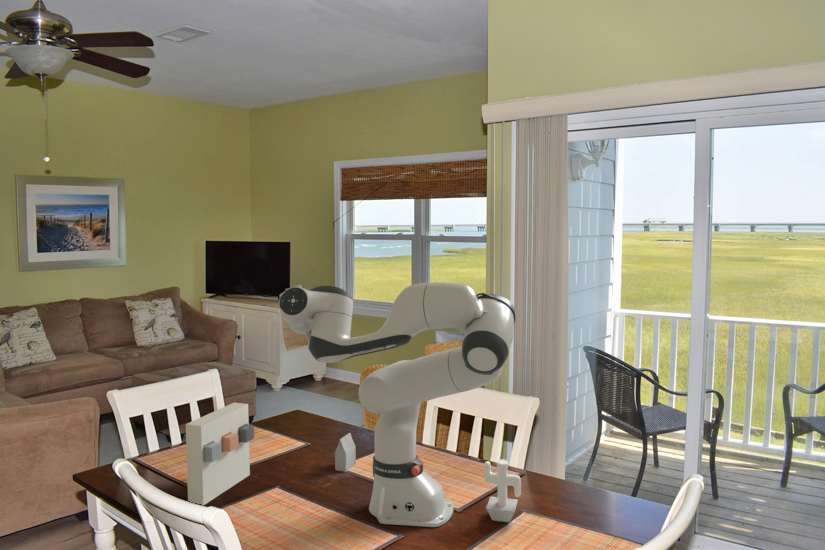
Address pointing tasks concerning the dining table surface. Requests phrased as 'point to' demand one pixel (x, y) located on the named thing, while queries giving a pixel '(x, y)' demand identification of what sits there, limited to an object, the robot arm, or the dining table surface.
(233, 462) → the control panel
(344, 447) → the white carton box
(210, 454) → the slate grey button
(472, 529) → the dining table surface
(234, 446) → the terracotta button
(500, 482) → the figurine
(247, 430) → the charcoal button
